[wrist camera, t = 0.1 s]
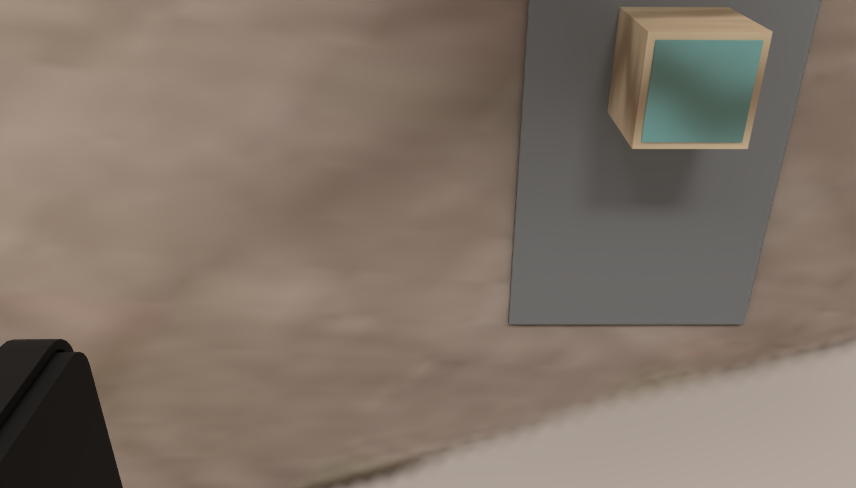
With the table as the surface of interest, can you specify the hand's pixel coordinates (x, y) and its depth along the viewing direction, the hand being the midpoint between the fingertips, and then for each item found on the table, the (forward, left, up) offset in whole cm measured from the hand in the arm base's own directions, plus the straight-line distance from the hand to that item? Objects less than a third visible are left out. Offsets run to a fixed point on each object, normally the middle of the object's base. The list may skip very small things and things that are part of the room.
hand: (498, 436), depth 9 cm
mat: (+11, +13, -37) cm, 40 cm away
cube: (+5, +13, -36) cm, 39 cm away
